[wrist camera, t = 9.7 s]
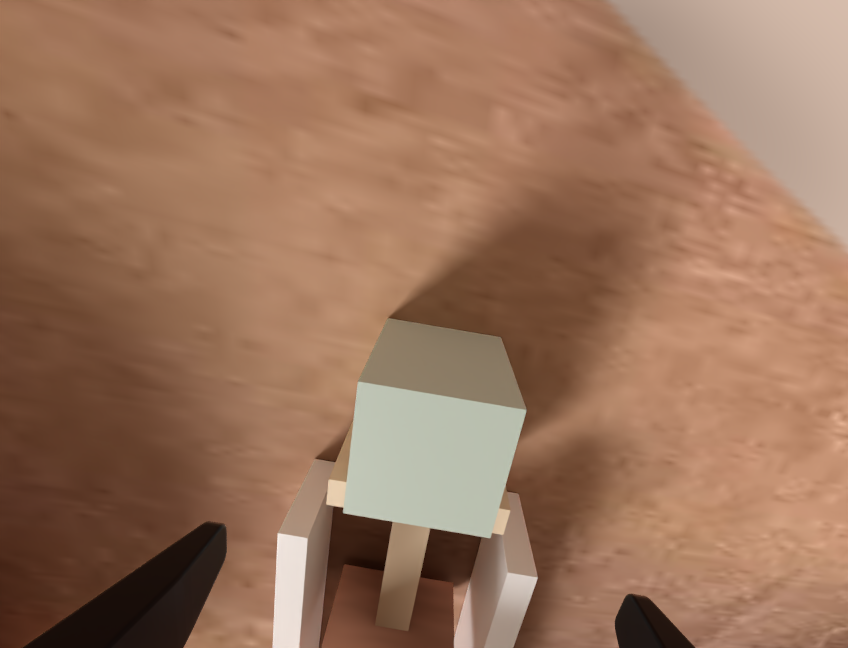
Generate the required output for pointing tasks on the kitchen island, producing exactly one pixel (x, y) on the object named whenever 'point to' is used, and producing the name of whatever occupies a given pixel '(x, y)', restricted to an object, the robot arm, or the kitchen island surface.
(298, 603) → the channel
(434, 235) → the kitchen island surface
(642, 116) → the kitchen island surface
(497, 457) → the block
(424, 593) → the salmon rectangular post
